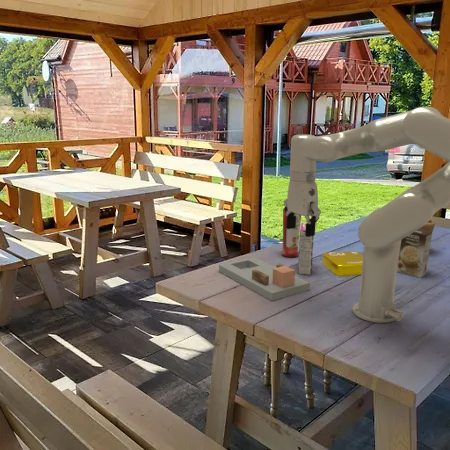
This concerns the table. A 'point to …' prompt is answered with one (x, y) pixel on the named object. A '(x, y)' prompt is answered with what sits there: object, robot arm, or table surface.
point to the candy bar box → (305, 252)
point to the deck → (246, 279)
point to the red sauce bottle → (290, 237)
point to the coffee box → (415, 253)
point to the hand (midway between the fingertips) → (300, 232)
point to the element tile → (343, 263)
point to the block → (283, 276)
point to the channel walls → (262, 276)
